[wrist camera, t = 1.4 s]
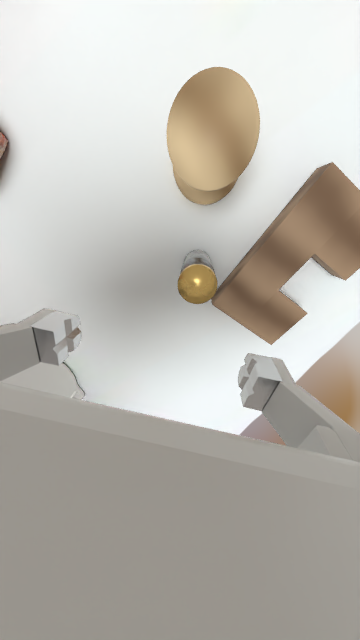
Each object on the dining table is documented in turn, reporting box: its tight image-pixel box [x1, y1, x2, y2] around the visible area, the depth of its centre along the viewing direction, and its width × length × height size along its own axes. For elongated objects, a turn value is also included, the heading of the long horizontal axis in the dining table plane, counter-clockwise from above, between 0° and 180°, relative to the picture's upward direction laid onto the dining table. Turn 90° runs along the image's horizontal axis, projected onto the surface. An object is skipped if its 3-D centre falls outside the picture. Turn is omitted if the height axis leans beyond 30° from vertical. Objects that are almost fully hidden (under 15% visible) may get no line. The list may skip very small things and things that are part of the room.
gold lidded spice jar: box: [178, 250, 217, 304], centre depth 24 cm, size 4×4×11 cm
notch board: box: [211, 162, 360, 345], centre depth 27 cm, size 20×12×3 cm, turn 146°
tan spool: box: [167, 67, 260, 205], centre depth 19 cm, size 8×8×10 cm
